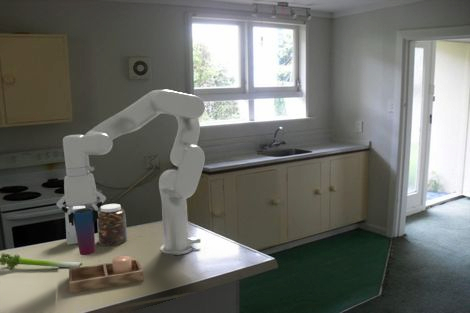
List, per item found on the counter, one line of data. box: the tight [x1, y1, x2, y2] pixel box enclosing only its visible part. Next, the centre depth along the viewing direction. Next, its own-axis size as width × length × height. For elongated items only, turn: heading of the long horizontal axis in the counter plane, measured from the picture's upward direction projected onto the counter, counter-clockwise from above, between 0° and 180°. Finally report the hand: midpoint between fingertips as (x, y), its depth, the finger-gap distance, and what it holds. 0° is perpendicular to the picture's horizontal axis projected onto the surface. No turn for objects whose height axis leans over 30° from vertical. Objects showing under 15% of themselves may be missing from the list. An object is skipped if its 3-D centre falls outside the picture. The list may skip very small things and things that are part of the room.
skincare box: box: [64, 205, 86, 246], centre depth 182 cm, size 8×6×15 cm
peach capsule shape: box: [112, 255, 132, 275], centre depth 143 cm, size 6×6×6 cm
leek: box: [0, 252, 83, 271], centre depth 155 cm, size 6×7×30 cm
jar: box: [96, 203, 128, 247], centre depth 182 cm, size 12×12×15 cm
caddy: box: [68, 258, 144, 294], centre depth 142 cm, size 22×12×4 cm, turn 111°
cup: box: [72, 207, 96, 256], centre depth 149 cm, size 7×7×15 cm
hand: (84, 222), depth 149 cm, fingers closed on cup, 6 cm apart
